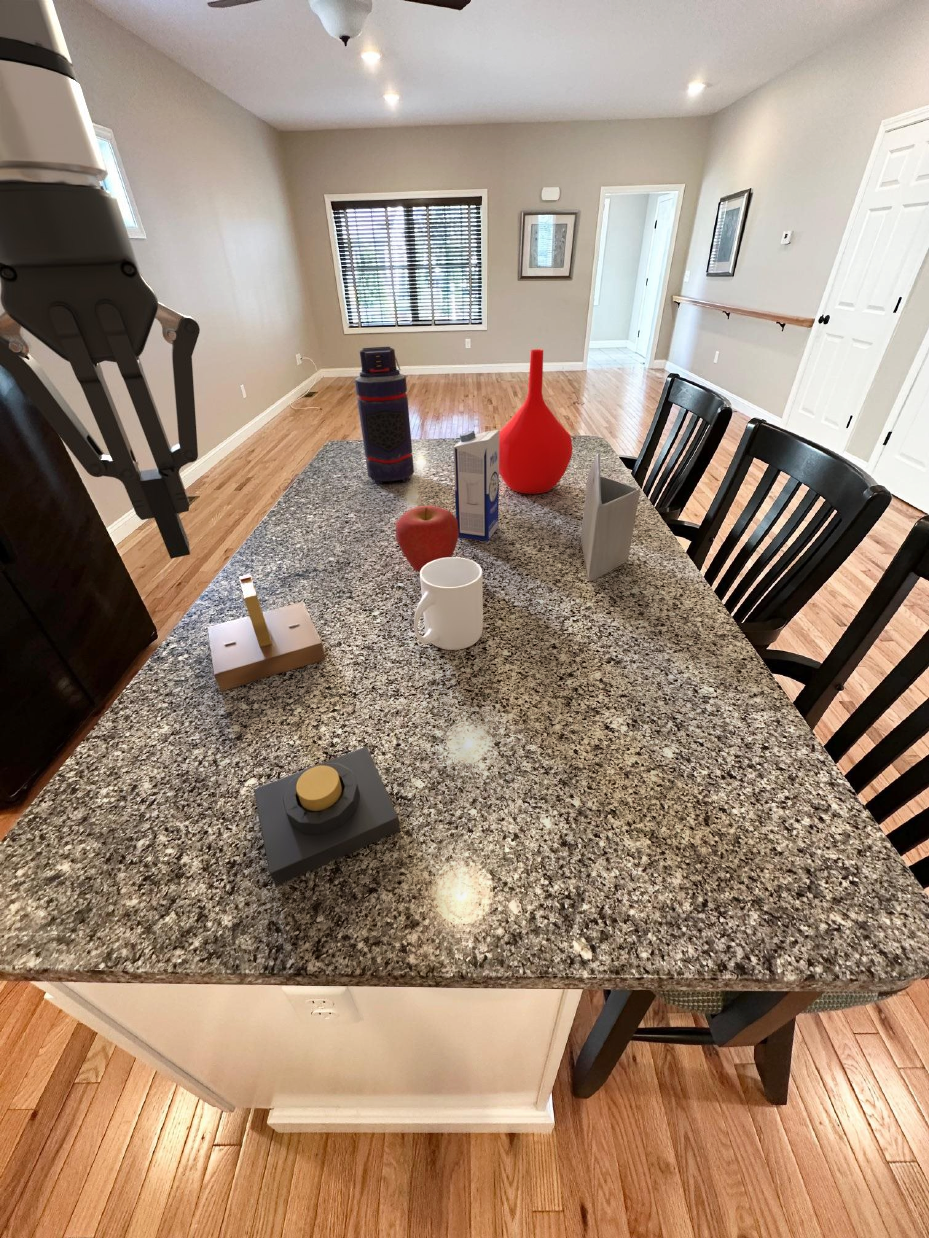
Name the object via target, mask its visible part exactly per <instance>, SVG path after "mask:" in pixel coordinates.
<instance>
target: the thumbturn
mask: <svg viewBox="0 0 929 1238" xmlns="http://www.w3.org/2000/svg"><path fill="white" fill-rule="evenodd" d="M238 580H239V581H238V582H239V585H240V589H241V593H242V597H243V601H244V604H245V607H246V611H247V614H248V616H250V619H251V622H252V625H253V628H254V631H255V634H256V637H257V640H258V644H259V647H262V646H266V645H269V644H271V640H270V636H269V633H268V629H267V626H266V622H265V619H264V616H263V613H262V612H263V609H262V606H261V603H260V599H259V596H258V592H257V589H256V587H255V583H254V581H253V577H252V575H251V574H250V573H247V574H244V575H243V574H242V575H239V577H238Z"/></svg>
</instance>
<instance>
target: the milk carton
mask: <svg viewBox="0 0 929 1238" xmlns="http://www.w3.org/2000/svg"><path fill="white" fill-rule="evenodd" d="M499 432H500V429H495V430H494V429H493V430H487V431H483V432H480V433H479V432H478V433H475V431H474V430H470V431H467V432H463V433H461V434H459V438H460V441H458V442H457V443H456V444H454V446H452V451H453V452H452V453H453V455H452V456H453V476H454V477H453V478H454V501H455V504H454V505H455V517H456V518H457V522H458V531H459V536H458V538H461V539H462V538H463V539H470V540H476V541H483V542H489V541H490V539H491V538H492V536H493V535H494V534H495V533H496V532H497V530H498V529H499V512H500V511H499V507H500V505H499V503H500V501H499V500H500V495H499V494H500V492H499V491H500V474H499Z"/></svg>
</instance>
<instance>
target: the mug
mask: <svg viewBox="0 0 929 1238" xmlns="http://www.w3.org/2000/svg"><path fill="white" fill-rule="evenodd" d="M419 580H420V592H421V599H420V600H419V602H418V604H417V606H416V609H415V612H414V616H413V629H414V634H415V637H416V640H417V641H418V642H419V643H420V644H424V645H428V644H432V645H433V646H435V647H437V648H439V649H442V650H447V651H460V650H464V649H467V648H470V647H471V646H473V645H474V644H476V643H477V642H478V641H479V640H480V638H482V635H483V631H484V630H483V629H484V611H483V609H484V608H483V607H484V605H483V604H484V603H483V602H484V601H483V600H484V599H483V598H484V597H483V595H484V593H483V569H482V567H481V565H480V564H479V563H478V562H476V561H475V560H472V559H469V558H465V557H459V556H458V557H457V556H451V557H447V558H440V559H437V560H434V561H431V562H429V563H427V564H426V565H425V566H424V567H423V568H422V569H421V571H420V572H419ZM422 615H423V624H424V625H423V626H424V632H425V634H424V635H421V634H420V633H419V629H418V627H419V622H420V619H421V618H422Z"/></svg>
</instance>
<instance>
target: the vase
mask: <svg viewBox="0 0 929 1238" xmlns="http://www.w3.org/2000/svg"><path fill="white" fill-rule="evenodd" d="M543 374H544V349H543V348H541V349H540V348H535V349H530V357H529V372H528V393H527V396H526V398H525V400H524V403H523V404H522V406H521V407H520V408H519V409H518V410H517V412H516V413H515V414H514V415H513V416H512V417H511V419H510V420H509V421H508V422H507V423H506V424H505V425H504V426H503V427H502V429H500V430H499V477H501V479H502V480H503V482H504V483H505V485H506V486H508V487H509V488H510V489H511V490H512V491H514V492H517V493H520V494H526V495H537V494H543V493H546V492H549V491H550V490H551V489H553V488H554V487H555V486H557V484H558V483H559V482H560V481H561V479H562V478H563V476H564V475H565V473H566V471H567V469H568V467H569V464H570V462H571V460H572V457H573V456H572V455H573V443H572V437H571V434H570V432H569V431H568V430H567V429H566V428H565V427H564V426H563V425H562V424H561V422H560V421H559V420H558V419H557V417H556V416H555V415H554V414H553V412H552V411H551V409H550V408H549V407H548V405H547V404H546V402H545V399H544V396H543V381H544V380H543V376H544V375H543Z"/></svg>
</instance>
